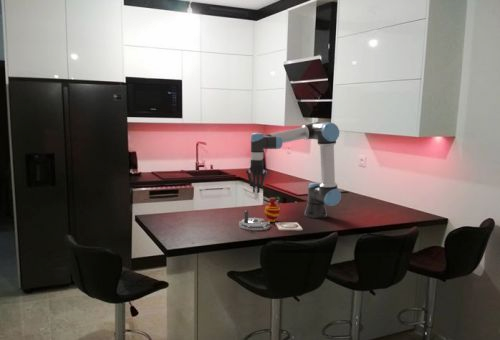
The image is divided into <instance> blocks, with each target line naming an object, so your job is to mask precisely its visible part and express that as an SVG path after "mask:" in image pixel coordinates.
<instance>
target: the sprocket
mask: <svg viewBox="0 0 500 340" xmlns="http://www.w3.org/2000/svg"><path fill="white" fill-rule="evenodd" d="M243 217H244V218H243V219H241V221H239V222H238V225H239V224H242V225H243V226H246V227H251V228H261V227H266V226H267V225H268V224H269V225H270V222H269V221H268V220H267V219H265V218H261V217H249V210H244V215H243Z"/></svg>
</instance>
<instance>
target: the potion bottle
mask: <svg viewBox="0 0 500 340" xmlns="http://www.w3.org/2000/svg"><path fill="white" fill-rule="evenodd" d="M276 198H277V197H269V204H266V206H265V208H264V211H263V212H264V214H265V215H264V216H266V217H267V219H268V220H267V221H269V222H272V223H274V222H275V223H276V219H277V218H278V217H279V216H280V212H281V207H279V205H277V204H276V201H277V200H276Z"/></svg>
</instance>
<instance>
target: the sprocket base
mask: <svg viewBox="0 0 500 340" xmlns="http://www.w3.org/2000/svg"><path fill="white" fill-rule="evenodd" d="M238 227H239V229H243V230H245V231H251V230H252V231H253V232H258V231H267V230H269V229H271V225H270V224H268V225H267V226H266V227H261V228H251V227H246V226H243V225H242V224H239V223H238Z"/></svg>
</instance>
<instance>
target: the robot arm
mask: <svg viewBox="0 0 500 340" xmlns="http://www.w3.org/2000/svg"><path fill="white" fill-rule="evenodd" d="M250 136H251V137H250V167H249V169H247V170H246V171H245V172H246V174H247V178H248V181H249V186H250V187H252V193H253V194H254V199H255V200H256V199H259V194H260V192H261V190H260V189H261V188H262V187H264V183H265V179H266V175H267V173H268V171H267V170H265V169H264V160H263V159H264V150H279V149H281V148H282V147H283V144H285V143H290V142H294V141H299V140H305V141H307V140H316V141H317V145H318V146H319V149H320V151H319V152H320V153H319V154H320V175H321V176H320V179H321V181H320V182H310V183H309V184H308V188H307V205H306V208H305V210H304V216H305V217H307V218H310V219H325V218H327V215H328V214H327V209H326V207H325V206H329V207H334V206H336V205H338V204H339V203H340V201H341V199H342V192H341V191H340V190H339V189H338V183H336V180H335V178H336V176H335V171H336V170H335V145H336V144H337V140H338V138H339V137H340V129H339V126H338V125H336V123H333V122H330V121H315V122H313V123H308V124H304V125H302V126H301V127H297V128H296V127H295V128H293V129H292V128H291V129H287V130H283V131H282V130H281V131H277V132H272V133H266V134H264V133H261V132H260V133H259V132H256V133H255V132H253V133H251V135H250ZM261 175H262V177H261Z"/></svg>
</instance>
